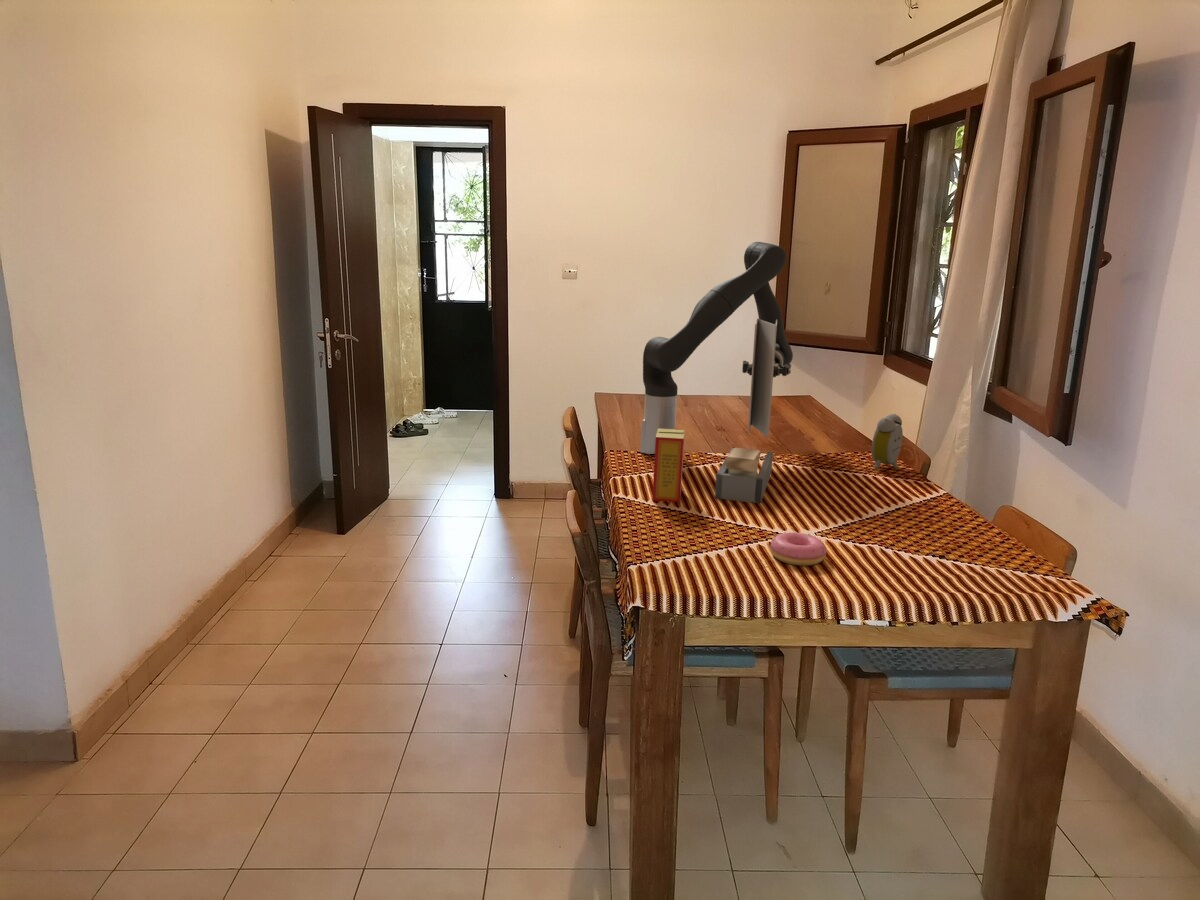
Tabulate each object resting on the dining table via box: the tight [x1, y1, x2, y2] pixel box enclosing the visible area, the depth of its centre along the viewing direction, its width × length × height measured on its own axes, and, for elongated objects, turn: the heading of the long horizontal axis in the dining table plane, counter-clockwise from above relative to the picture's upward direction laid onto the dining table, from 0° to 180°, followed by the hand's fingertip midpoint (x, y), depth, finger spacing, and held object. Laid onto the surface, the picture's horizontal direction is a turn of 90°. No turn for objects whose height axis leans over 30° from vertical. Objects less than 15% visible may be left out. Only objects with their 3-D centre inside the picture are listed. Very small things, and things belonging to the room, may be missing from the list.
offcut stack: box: [726, 447, 761, 477], centre depth 202 cm, size 7×10×10 cm
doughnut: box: [769, 532, 828, 567], centre depth 163 cm, size 11×11×4 cm
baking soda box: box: [651, 428, 686, 503], centre depth 197 cm, size 10×6×16 cm
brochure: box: [747, 318, 777, 438], centre depth 224 cm, size 14×6×30 cm, turn 168°
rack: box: [714, 447, 774, 504], centre depth 209 cm, size 11×27×6 cm, turn 163°
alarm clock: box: [870, 413, 904, 471], centre depth 228 cm, size 12×7×15 cm, turn 145°
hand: (762, 372), depth 224 cm, fingers closed on brochure, 6 cm apart
